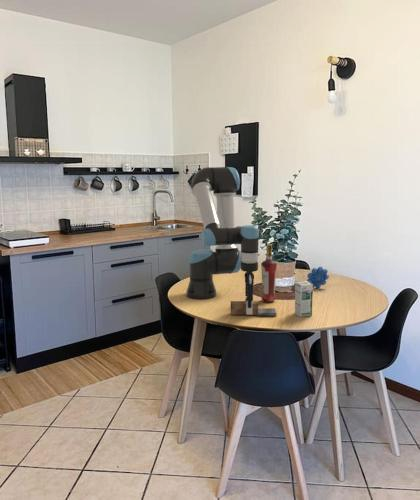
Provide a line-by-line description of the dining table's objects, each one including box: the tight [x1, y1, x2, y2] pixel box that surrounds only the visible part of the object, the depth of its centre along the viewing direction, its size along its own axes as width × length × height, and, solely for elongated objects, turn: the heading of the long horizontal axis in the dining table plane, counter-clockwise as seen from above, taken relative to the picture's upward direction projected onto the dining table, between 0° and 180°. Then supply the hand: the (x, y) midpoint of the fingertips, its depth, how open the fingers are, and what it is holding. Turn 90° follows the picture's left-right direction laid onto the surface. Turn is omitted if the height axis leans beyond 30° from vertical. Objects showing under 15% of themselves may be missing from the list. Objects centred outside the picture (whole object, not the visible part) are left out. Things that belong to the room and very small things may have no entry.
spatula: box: [230, 300, 278, 317], centre depth 196 cm, size 20×6×5 cm, turn 88°
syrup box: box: [294, 280, 314, 318], centre depth 195 cm, size 6×6×14 cm
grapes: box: [306, 266, 330, 289], centre depth 237 cm, size 12×7×12 cm, turn 86°
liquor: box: [260, 243, 278, 304], centre depth 213 cm, size 7×7×28 cm
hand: (248, 312), depth 196 cm, fingers closed on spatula, 3 cm apart
